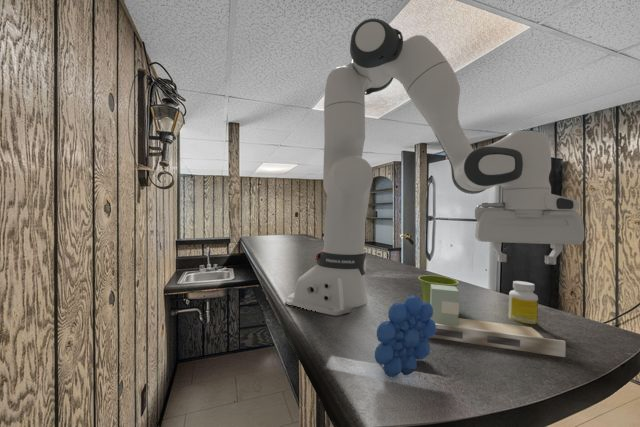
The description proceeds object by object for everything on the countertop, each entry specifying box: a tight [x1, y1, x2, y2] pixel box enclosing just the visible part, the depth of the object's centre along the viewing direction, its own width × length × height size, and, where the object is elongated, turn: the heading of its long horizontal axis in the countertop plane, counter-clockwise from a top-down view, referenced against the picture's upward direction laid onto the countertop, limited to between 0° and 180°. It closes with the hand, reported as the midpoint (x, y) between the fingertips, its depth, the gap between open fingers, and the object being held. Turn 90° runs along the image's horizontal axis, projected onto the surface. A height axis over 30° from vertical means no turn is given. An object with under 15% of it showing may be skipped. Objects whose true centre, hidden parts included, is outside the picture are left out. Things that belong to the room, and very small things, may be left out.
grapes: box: [374, 295, 436, 378], centre depth 44 cm, size 12×7×12 cm, turn 116°
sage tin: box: [430, 284, 460, 326], centre depth 58 cm, size 4×5×8 cm
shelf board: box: [431, 317, 567, 358], centre depth 56 cm, size 22×13×4 cm, turn 72°
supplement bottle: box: [507, 280, 539, 325], centre depth 63 cm, size 5×5×10 cm
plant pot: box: [418, 274, 460, 303], centre depth 70 cm, size 9×9×9 cm
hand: (525, 262), depth 63 cm, fingers open, 8 cm apart
